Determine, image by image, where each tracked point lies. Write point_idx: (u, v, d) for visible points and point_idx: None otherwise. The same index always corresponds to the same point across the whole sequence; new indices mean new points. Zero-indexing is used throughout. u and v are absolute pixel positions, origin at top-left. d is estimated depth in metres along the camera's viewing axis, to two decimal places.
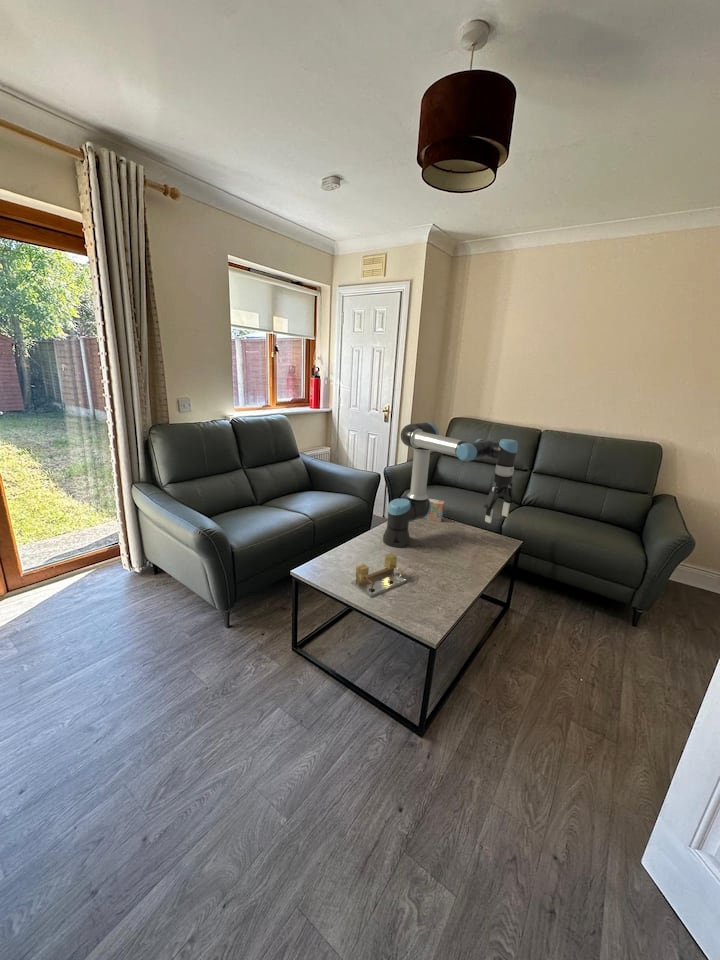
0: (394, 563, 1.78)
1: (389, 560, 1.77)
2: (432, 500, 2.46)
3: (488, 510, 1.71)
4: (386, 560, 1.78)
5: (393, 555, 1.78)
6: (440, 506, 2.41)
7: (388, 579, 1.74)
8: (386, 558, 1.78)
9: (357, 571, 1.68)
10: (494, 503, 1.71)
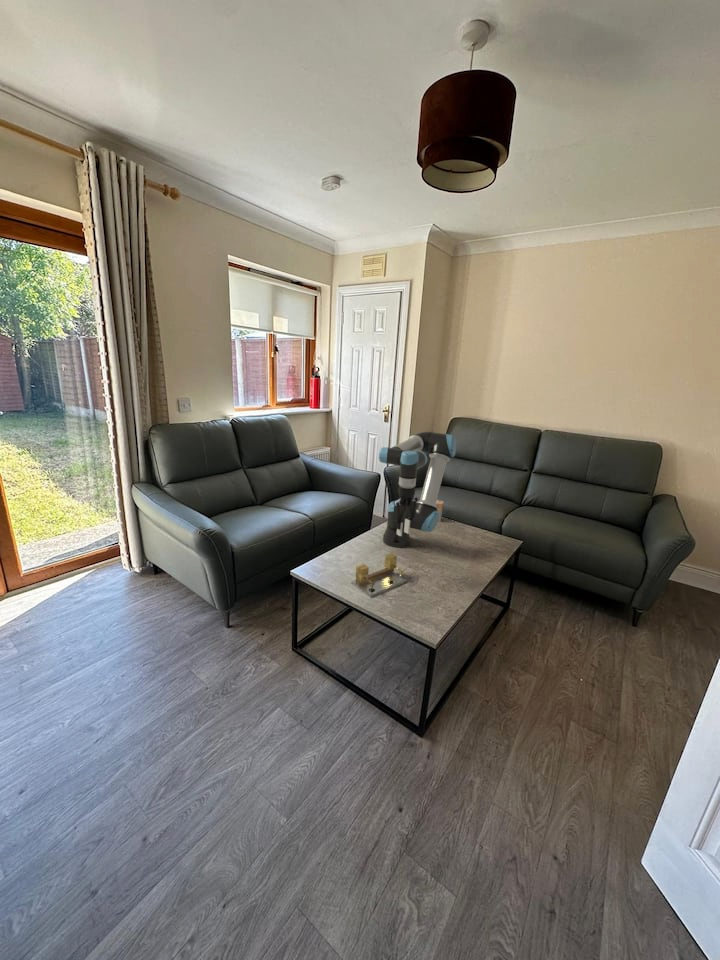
0: (394, 563, 1.78)
1: (389, 560, 1.77)
2: None
3: (398, 524, 1.75)
4: (386, 560, 1.78)
5: (393, 555, 1.78)
6: (439, 506, 2.41)
7: (388, 579, 1.74)
8: (386, 558, 1.78)
9: (357, 571, 1.68)
10: (402, 516, 1.74)
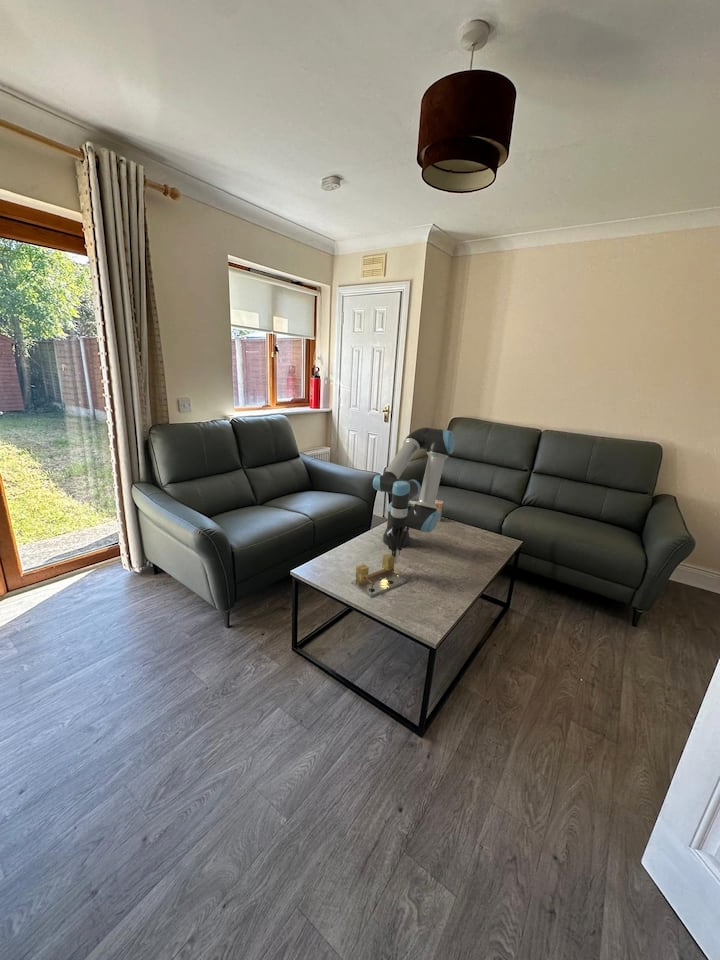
0: (392, 564, 1.78)
1: (387, 561, 1.76)
2: None
3: (393, 552, 1.78)
4: (384, 561, 1.78)
5: (391, 556, 1.78)
6: (439, 506, 2.41)
7: (388, 579, 1.74)
8: (384, 559, 1.77)
9: (357, 571, 1.68)
10: (396, 544, 1.77)
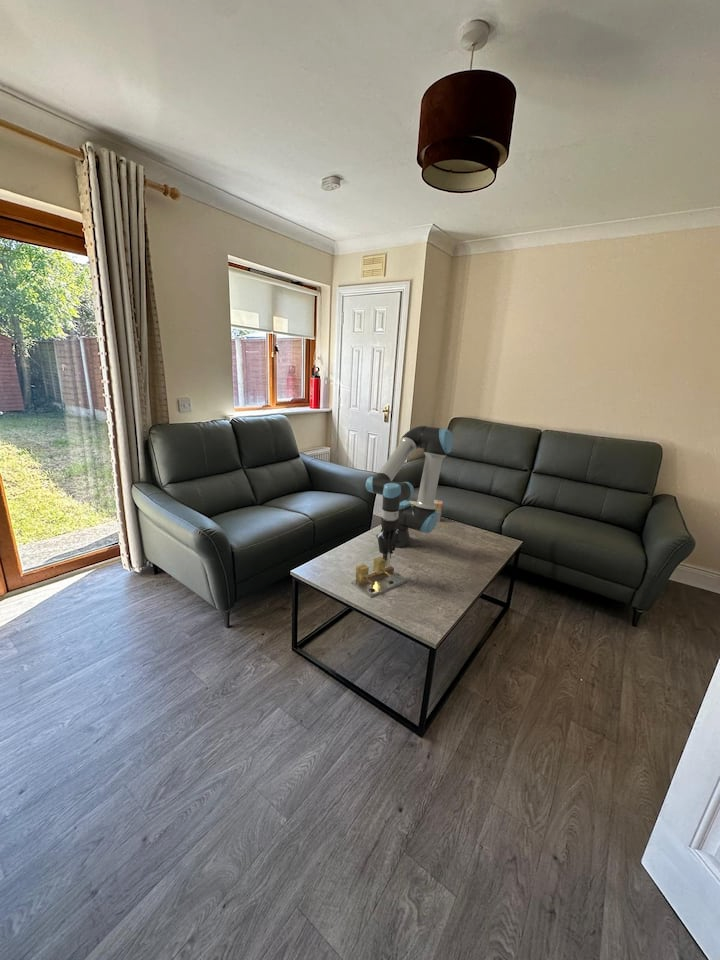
0: (383, 567, 1.74)
1: (377, 564, 1.73)
2: None
3: (384, 555, 1.75)
4: (375, 564, 1.74)
5: (382, 559, 1.74)
6: (439, 506, 2.41)
7: (388, 579, 1.74)
8: (375, 562, 1.74)
9: (357, 571, 1.68)
10: (387, 548, 1.73)
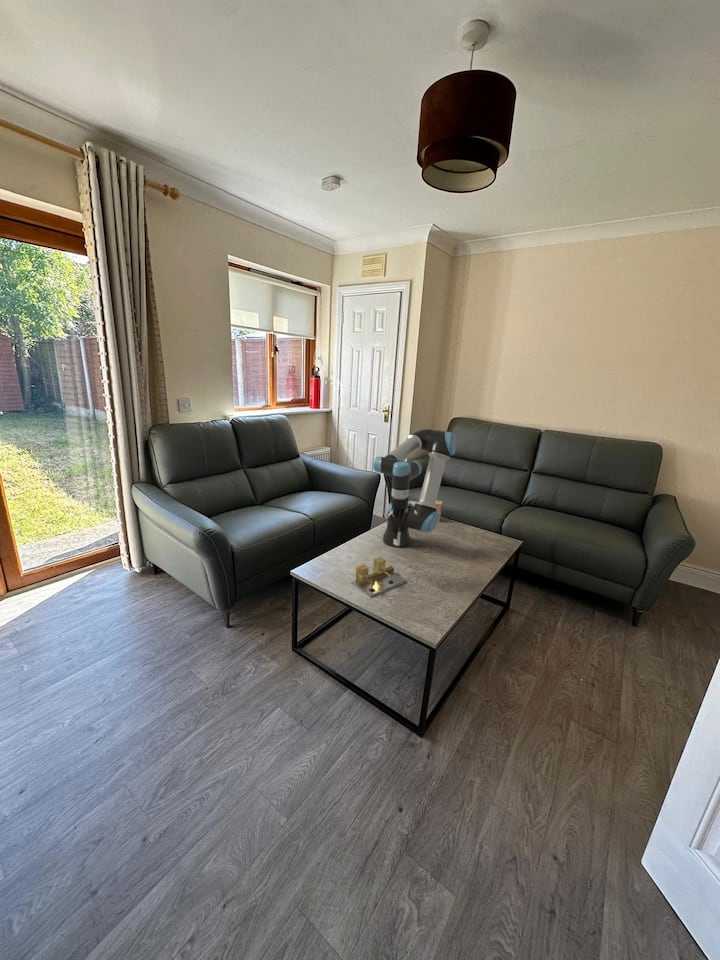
0: (383, 567, 1.74)
1: (377, 564, 1.73)
2: None
3: (394, 534, 1.76)
4: (374, 564, 1.74)
5: (382, 559, 1.74)
6: (438, 506, 2.41)
7: (388, 579, 1.74)
8: (374, 562, 1.74)
9: (357, 571, 1.68)
10: (397, 526, 1.74)
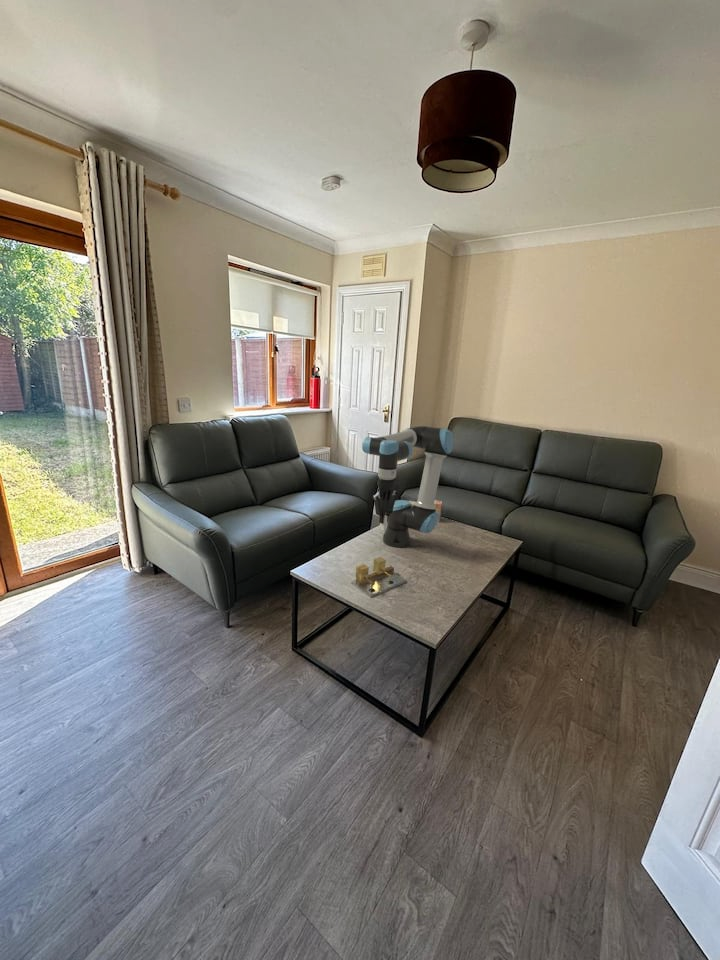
0: (383, 567, 1.74)
1: (377, 564, 1.73)
2: None
3: (381, 517, 1.66)
4: (374, 564, 1.74)
5: (382, 559, 1.74)
6: (438, 506, 2.41)
7: (388, 579, 1.74)
8: (374, 562, 1.74)
9: (357, 571, 1.68)
10: (384, 509, 1.64)
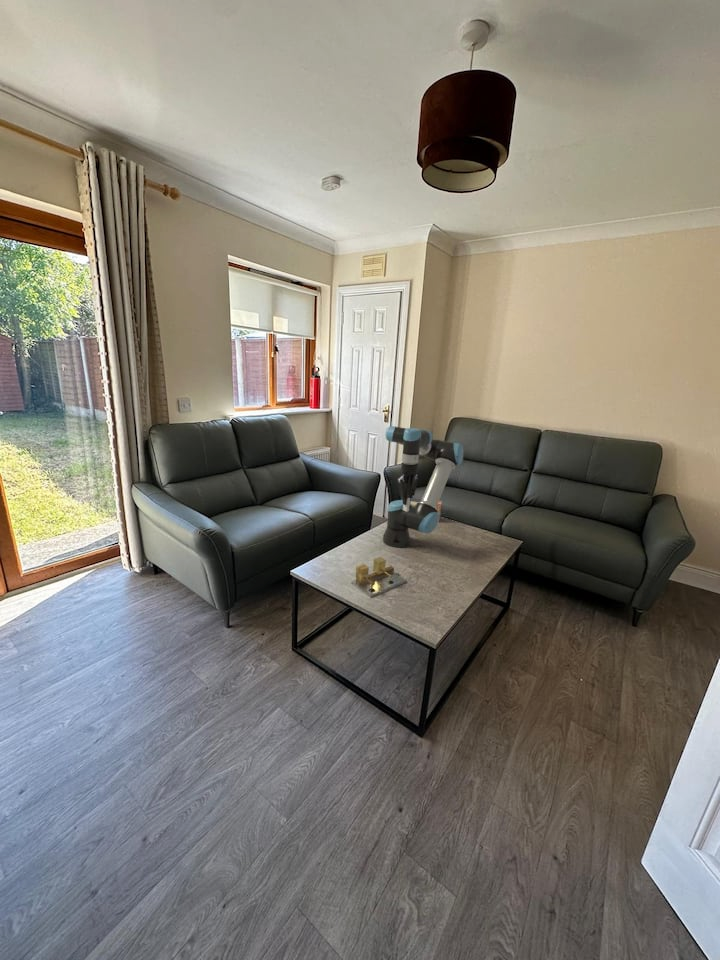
0: (383, 567, 1.74)
1: (377, 564, 1.73)
2: None
3: (404, 499, 1.81)
4: (374, 564, 1.74)
5: (382, 559, 1.74)
6: (438, 506, 2.41)
7: (388, 579, 1.74)
8: (374, 562, 1.74)
9: (357, 571, 1.68)
10: (407, 492, 1.80)
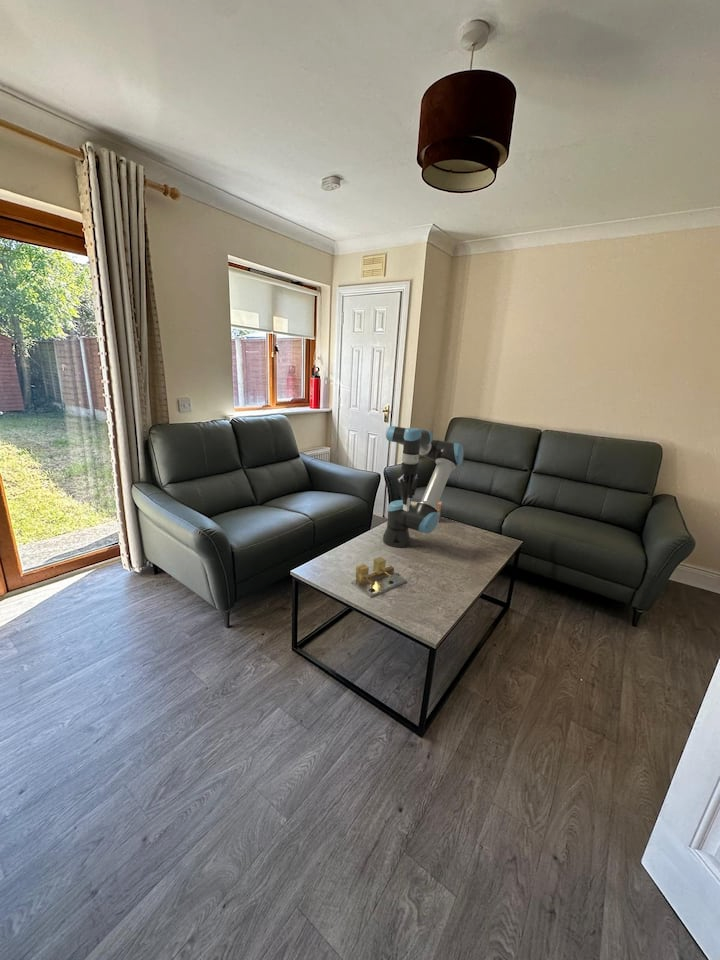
0: (383, 567, 1.74)
1: (377, 564, 1.73)
2: None
3: (404, 499, 1.81)
4: (374, 564, 1.74)
5: (382, 559, 1.74)
6: (438, 506, 2.40)
7: (388, 579, 1.74)
8: (374, 562, 1.74)
9: (357, 571, 1.68)
10: (407, 492, 1.80)
